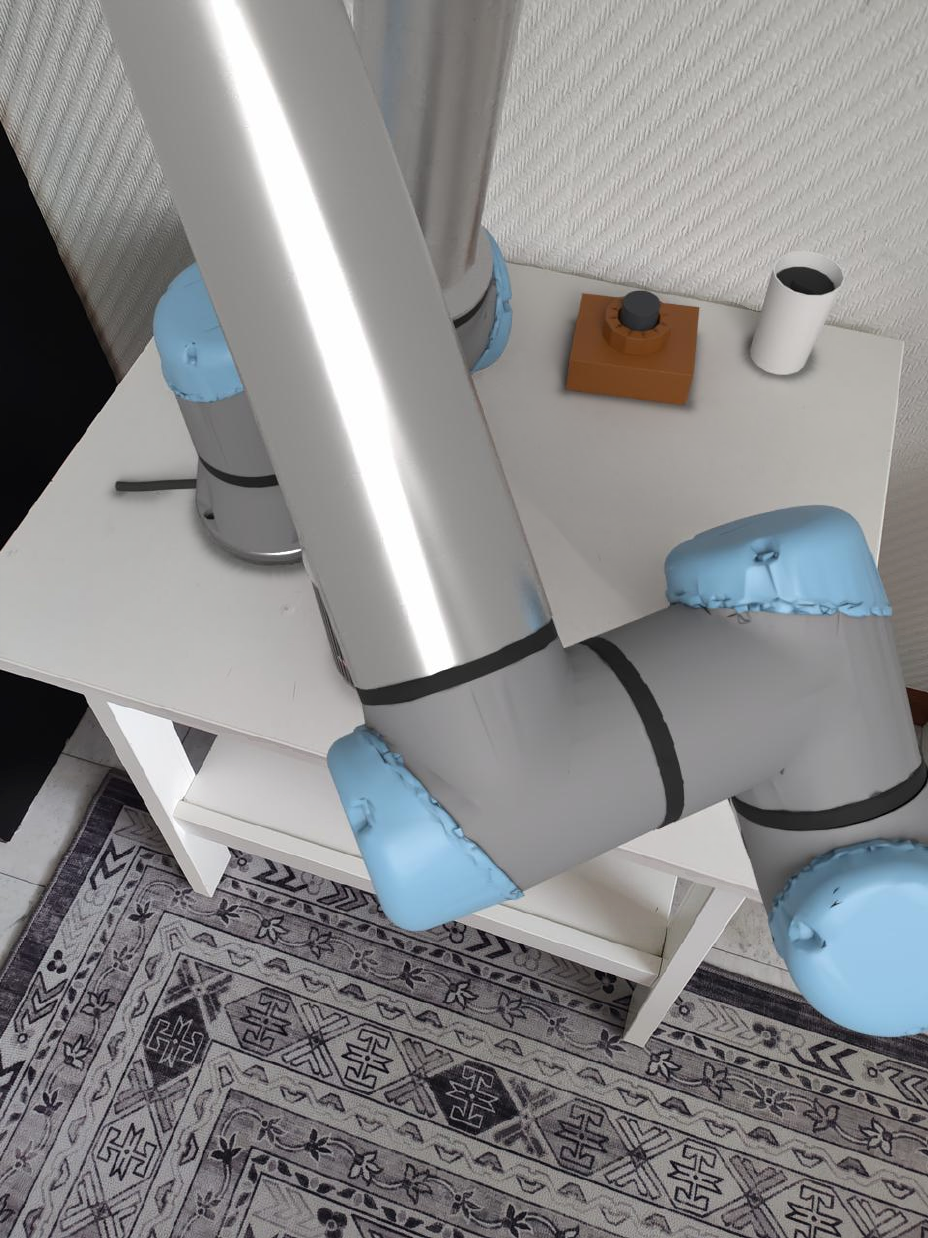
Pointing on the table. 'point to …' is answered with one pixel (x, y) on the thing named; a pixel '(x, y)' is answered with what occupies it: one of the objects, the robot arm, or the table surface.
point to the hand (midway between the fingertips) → (736, 667)
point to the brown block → (633, 352)
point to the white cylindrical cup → (795, 310)
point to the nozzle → (640, 310)
